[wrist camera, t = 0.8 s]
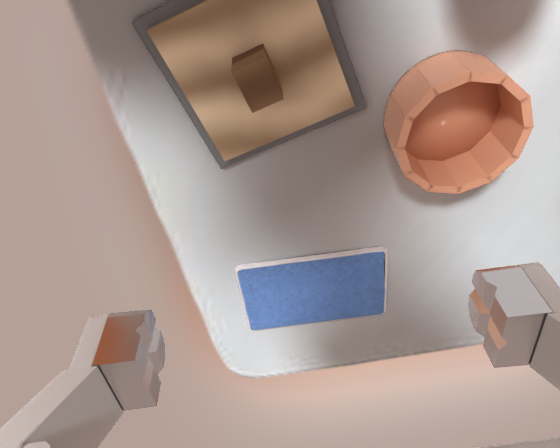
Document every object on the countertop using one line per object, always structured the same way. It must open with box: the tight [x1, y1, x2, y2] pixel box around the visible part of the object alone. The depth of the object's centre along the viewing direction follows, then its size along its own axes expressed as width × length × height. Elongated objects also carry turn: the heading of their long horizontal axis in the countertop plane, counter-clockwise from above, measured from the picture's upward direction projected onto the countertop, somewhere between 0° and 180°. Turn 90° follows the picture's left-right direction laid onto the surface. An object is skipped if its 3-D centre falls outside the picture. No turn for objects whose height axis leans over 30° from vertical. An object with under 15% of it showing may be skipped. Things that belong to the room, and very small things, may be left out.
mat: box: [132, 0, 366, 169], centre depth 43 cm, size 16×16×1 cm
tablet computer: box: [234, 246, 388, 331], centre depth 62 cm, size 19×13×1 cm, turn 97°
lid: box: [147, 0, 355, 161], centre depth 41 cm, size 14×14×4 cm
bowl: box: [384, 51, 534, 194], centre depth 45 cm, size 12×12×6 cm
